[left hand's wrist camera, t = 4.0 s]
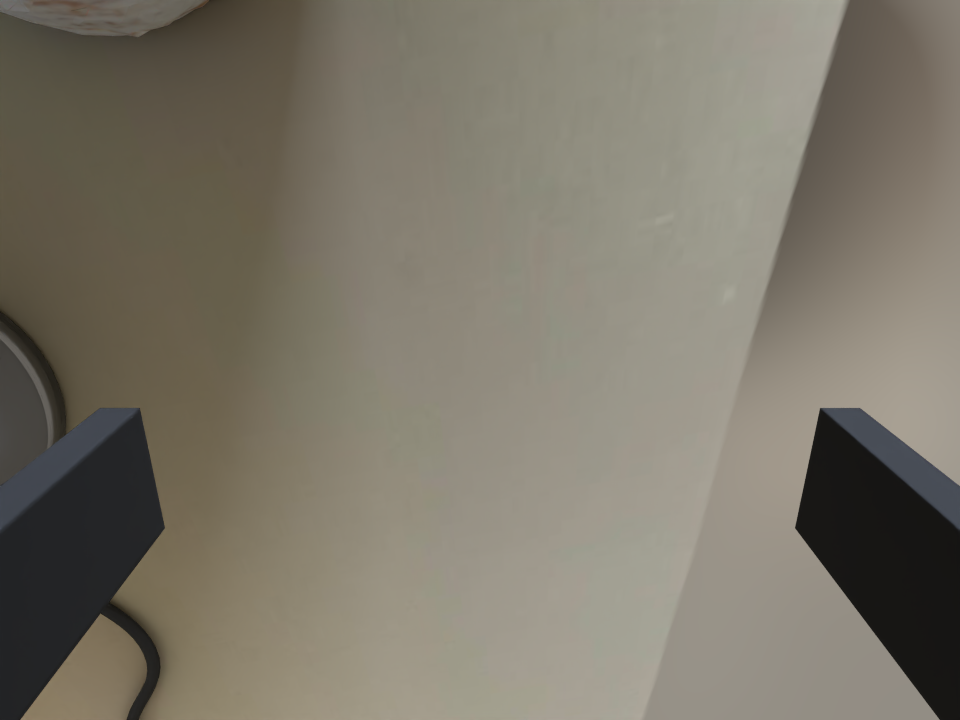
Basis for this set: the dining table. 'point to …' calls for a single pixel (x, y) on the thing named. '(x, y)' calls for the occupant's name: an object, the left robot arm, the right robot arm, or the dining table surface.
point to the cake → (101, 14)
